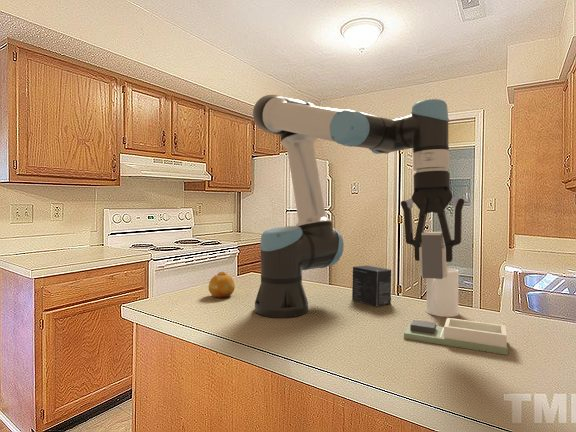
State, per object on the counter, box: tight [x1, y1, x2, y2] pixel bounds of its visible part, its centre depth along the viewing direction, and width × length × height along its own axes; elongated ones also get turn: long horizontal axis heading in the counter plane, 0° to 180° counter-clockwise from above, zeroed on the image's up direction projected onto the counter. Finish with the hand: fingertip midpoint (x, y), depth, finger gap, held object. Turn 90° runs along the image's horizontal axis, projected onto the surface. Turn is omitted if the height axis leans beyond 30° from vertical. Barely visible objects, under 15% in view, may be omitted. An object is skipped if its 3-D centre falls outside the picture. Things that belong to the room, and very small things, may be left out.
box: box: [351, 265, 392, 307], centre depth 114 cm, size 11×7×10 cm, turn 34°
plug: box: [421, 231, 445, 279], centre depth 83 cm, size 4×4×10 cm
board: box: [403, 319, 509, 356], centre depth 82 cm, size 20×8×3 cm, turn 62°
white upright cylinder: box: [425, 267, 460, 318], centre depth 101 cm, size 12×8×12 cm
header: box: [443, 317, 508, 348], centre depth 80 cm, size 12×7×2 cm, turn 62°
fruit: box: [208, 271, 236, 298], centre depth 121 cm, size 8×8×8 cm
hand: (433, 275), depth 83 cm, fingers closed on plug, 4 cm apart
